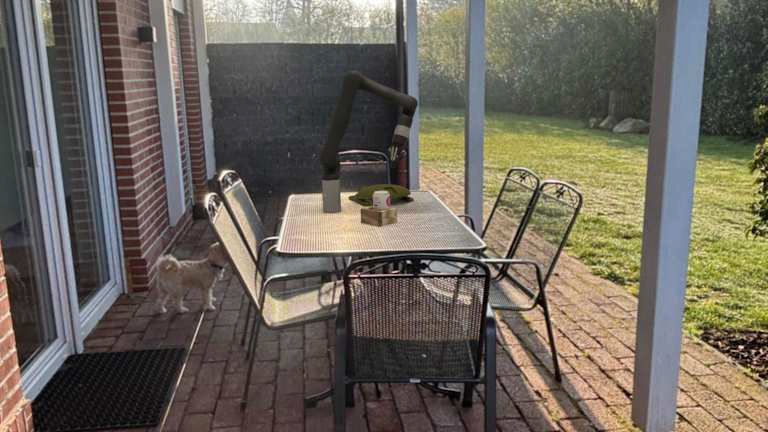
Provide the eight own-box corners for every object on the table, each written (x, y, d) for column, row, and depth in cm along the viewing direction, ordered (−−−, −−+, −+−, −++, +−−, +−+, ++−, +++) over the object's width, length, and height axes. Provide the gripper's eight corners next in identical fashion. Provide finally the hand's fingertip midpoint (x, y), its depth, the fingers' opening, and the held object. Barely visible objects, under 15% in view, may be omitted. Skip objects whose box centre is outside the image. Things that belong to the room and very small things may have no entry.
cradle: (378, 219, 325) (377, 205, 324) (397, 222, 316) (396, 208, 315) (361, 223, 318) (360, 208, 316) (380, 226, 308) (379, 212, 307)
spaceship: (347, 199, 385) (346, 183, 383) (395, 194, 396) (394, 178, 394) (368, 209, 353) (367, 191, 351) (420, 203, 364) (419, 186, 362)
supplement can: (392, 220, 320) (391, 190, 317) (388, 224, 313) (387, 193, 310) (376, 220, 323) (375, 190, 320) (371, 224, 315) (370, 193, 312)
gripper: (387, 131, 334) (377, 164, 335) (406, 135, 326) (396, 168, 326) (396, 135, 340) (387, 167, 340) (415, 139, 331) (405, 172, 332)
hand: (391, 168), depth 333 cm, fingers closed
